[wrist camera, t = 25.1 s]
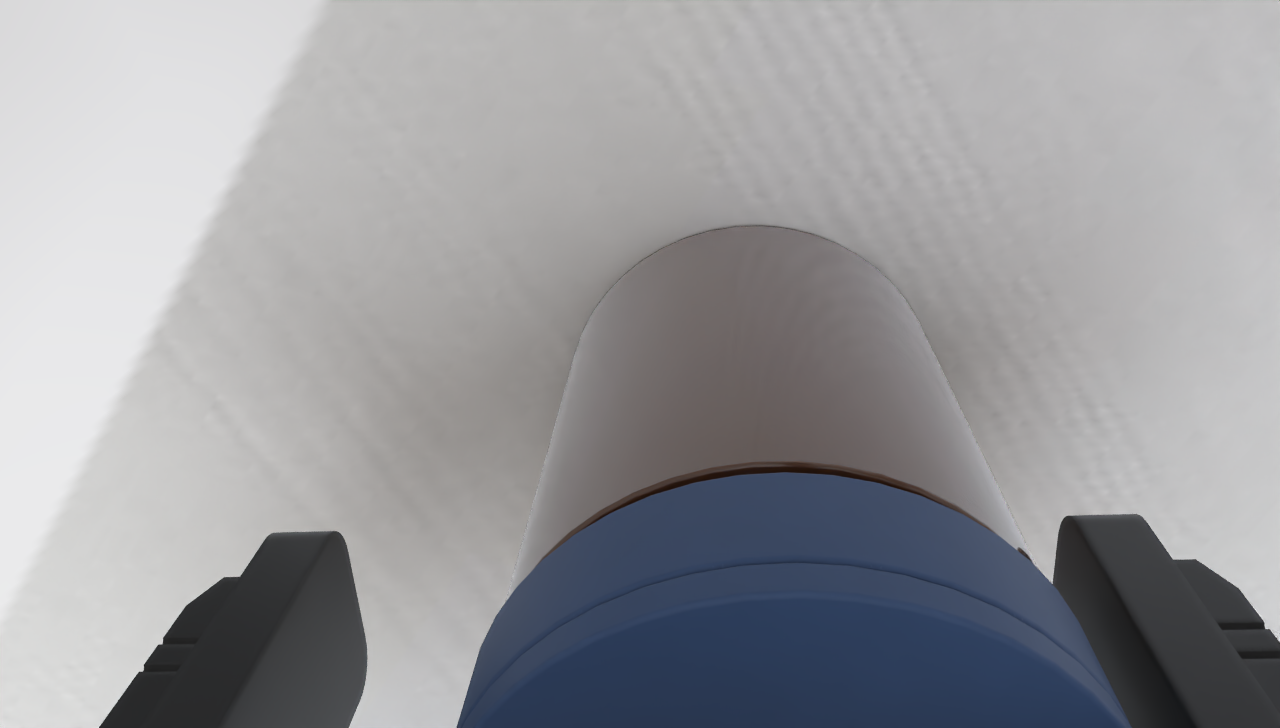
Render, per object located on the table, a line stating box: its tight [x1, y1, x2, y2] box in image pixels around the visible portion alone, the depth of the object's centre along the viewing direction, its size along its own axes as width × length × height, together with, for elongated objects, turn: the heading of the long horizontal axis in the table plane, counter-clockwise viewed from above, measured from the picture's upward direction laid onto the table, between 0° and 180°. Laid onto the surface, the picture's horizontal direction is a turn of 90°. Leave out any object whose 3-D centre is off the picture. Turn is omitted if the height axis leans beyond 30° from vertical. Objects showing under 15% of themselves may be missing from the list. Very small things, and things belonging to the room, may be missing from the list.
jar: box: [505, 226, 1039, 603], centre depth 13 cm, size 6×6×8 cm
